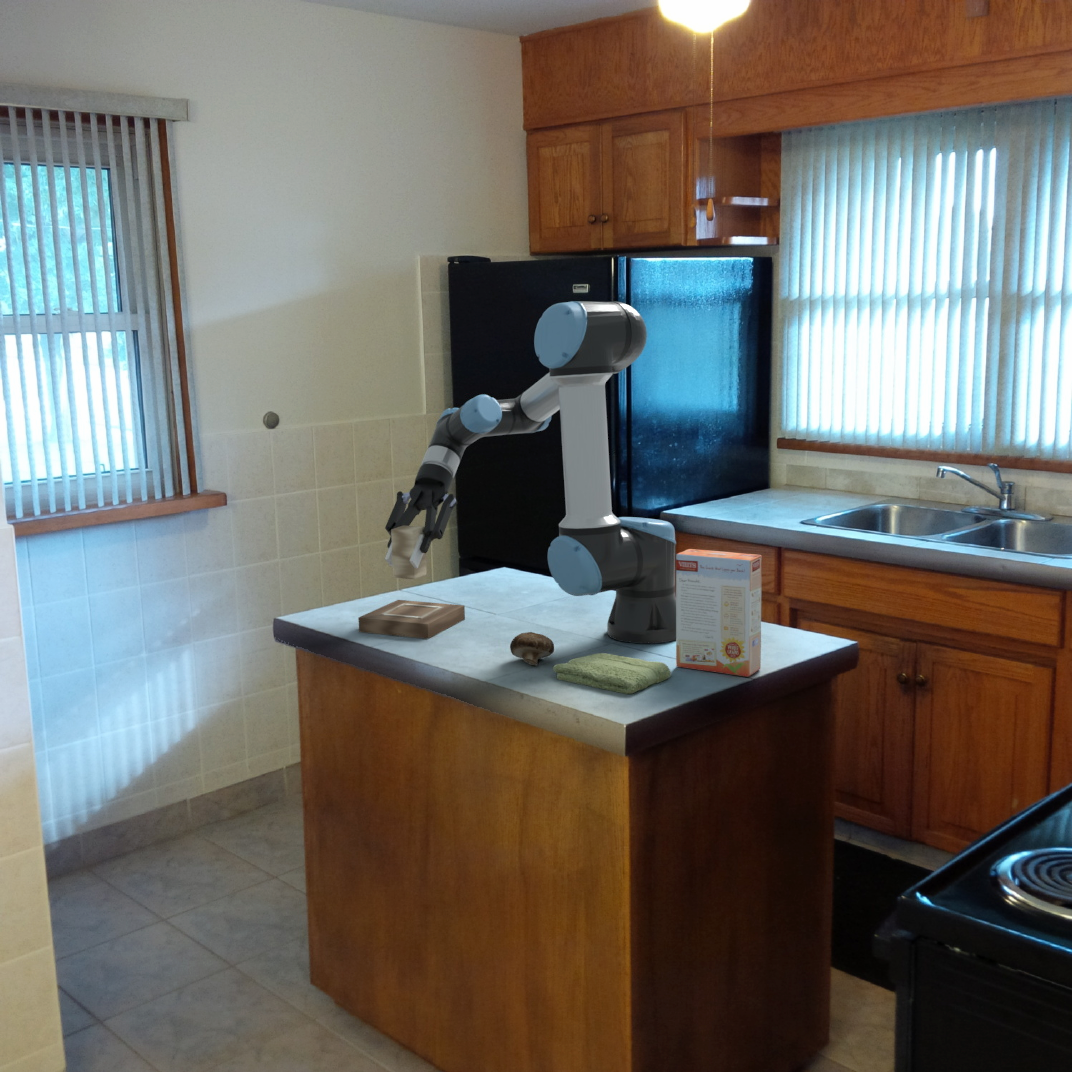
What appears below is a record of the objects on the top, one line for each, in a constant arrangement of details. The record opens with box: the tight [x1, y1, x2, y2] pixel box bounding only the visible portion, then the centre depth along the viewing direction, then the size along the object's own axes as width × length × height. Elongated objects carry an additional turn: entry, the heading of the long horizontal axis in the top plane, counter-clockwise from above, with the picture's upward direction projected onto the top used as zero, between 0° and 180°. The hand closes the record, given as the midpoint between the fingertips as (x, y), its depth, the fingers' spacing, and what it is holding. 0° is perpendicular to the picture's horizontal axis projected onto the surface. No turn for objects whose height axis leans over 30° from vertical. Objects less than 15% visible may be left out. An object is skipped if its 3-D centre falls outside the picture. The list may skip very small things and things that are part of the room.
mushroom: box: [509, 631, 555, 666], centre depth 211 cm, size 8×8×6 cm
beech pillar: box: [390, 525, 427, 580], centre depth 236 cm, size 5×5×10 cm
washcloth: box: [553, 652, 672, 695], centre depth 201 cm, size 13×18×3 cm
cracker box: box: [675, 548, 763, 678], centre depth 203 cm, size 14×6×21 cm, turn 58°
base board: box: [357, 599, 466, 640], centre depth 238 cm, size 16×16×3 cm
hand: (401, 563), depth 234 cm, fingers closed on beech pillar, 5 cm apart
